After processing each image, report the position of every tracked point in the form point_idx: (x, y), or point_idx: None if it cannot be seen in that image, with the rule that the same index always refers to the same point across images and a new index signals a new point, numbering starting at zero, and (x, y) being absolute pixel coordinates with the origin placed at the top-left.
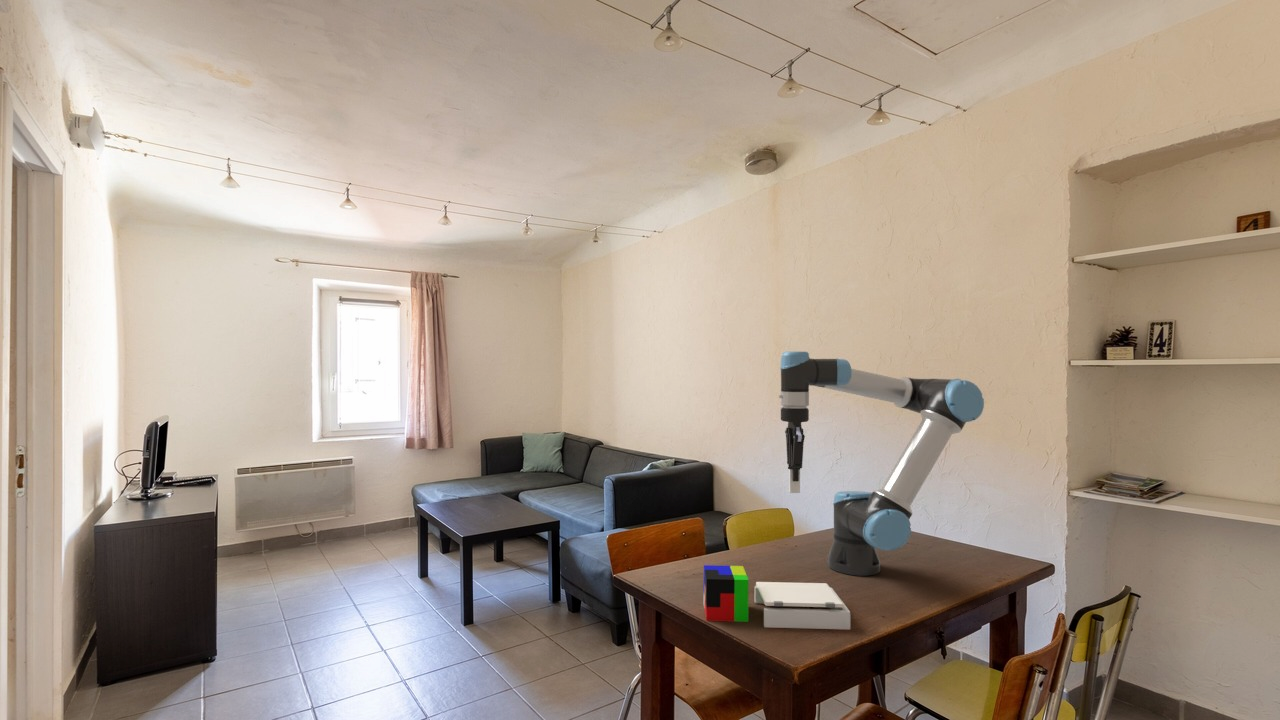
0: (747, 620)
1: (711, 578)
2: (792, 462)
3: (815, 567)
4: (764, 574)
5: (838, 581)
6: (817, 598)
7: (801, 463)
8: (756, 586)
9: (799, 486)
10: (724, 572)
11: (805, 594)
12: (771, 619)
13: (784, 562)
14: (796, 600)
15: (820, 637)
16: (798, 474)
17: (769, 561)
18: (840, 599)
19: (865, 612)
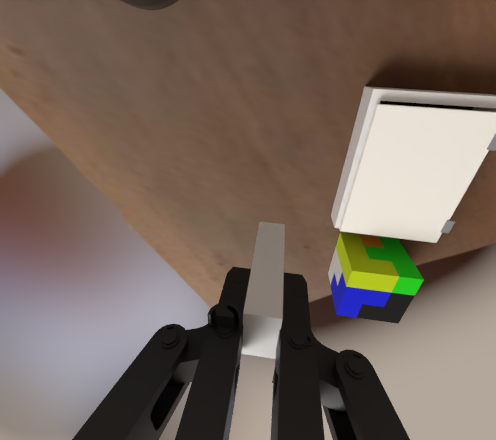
0: (398, 240)
1: (397, 318)
2: (333, 429)
3: (159, 49)
4: (214, 170)
5: (245, 19)
6: (456, 155)
7: (388, 404)
8: (337, 225)
9: (283, 244)
10: (377, 299)
11: (426, 171)
12: None
13: (141, 114)
14: (449, 196)
15: (492, 159)
16: (308, 308)
17: (143, 143)
18: (443, 93)
19: (429, 21)
